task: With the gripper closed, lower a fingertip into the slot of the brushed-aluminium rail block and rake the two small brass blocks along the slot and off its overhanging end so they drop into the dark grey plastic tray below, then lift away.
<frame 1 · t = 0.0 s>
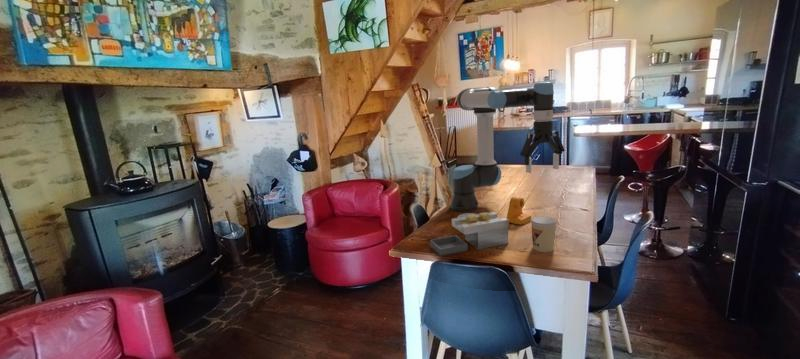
hand: (542, 170, 161), 28 cm above the table, fingers open, 13 cm apart
coffee cup: (543, 248, 150), on the table
rail block: (479, 242, 160), on the table
bowl: (469, 230, 176), on the table
chip b: (484, 221, 159), point 9 cm above the table, touching rail block
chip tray: (448, 248, 156), on the table
bracket: (519, 222, 182), on the table
chip a: (471, 224, 157), point 9 cm above the table, touching rail block
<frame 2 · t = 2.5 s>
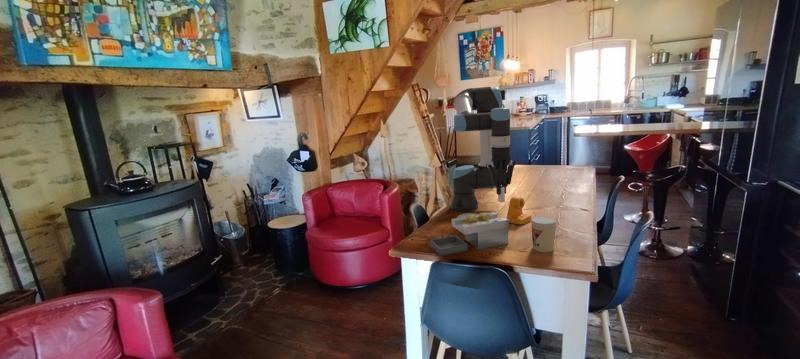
hand: (501, 201, 159), 17 cm above the table, fingers closed
nothing on the table moved.
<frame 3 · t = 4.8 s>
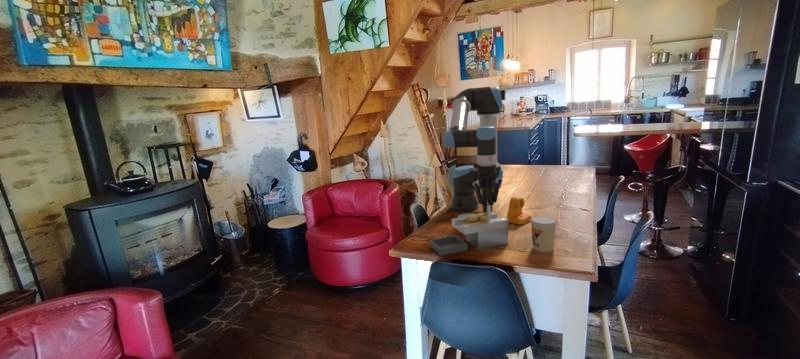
hand: (487, 219, 159), 10 cm above the table, fingers closed
chip b: (482, 222, 158), point 9 cm above the table, touching gripper, rail block
everything else where it was.
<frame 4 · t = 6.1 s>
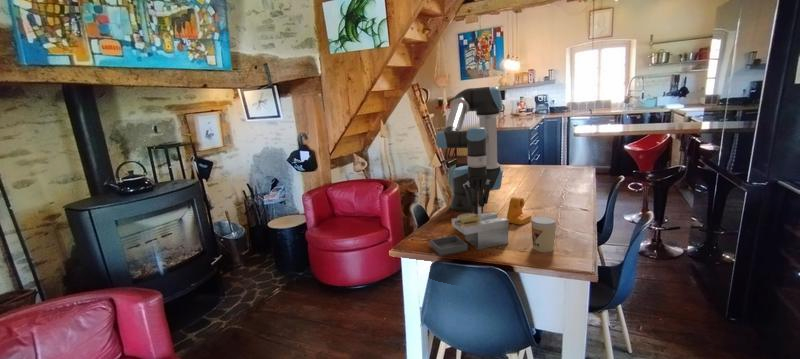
hand: (478, 220, 158), 10 cm above the table, fingers closed
chip b: (473, 223, 157), point 9 cm above the table, touching chip a, gripper
chip a: (465, 225, 156), point 9 cm above the table, touching chip b, rail block
everything else where it was.
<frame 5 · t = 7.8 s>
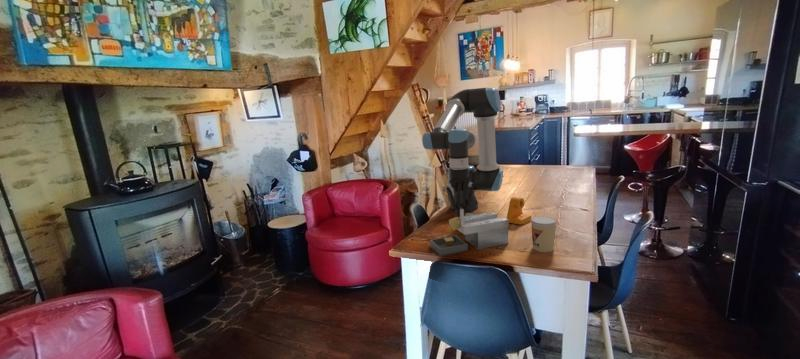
hand: (461, 223, 155), 10 cm above the table, fingers closed
chip b: (456, 227, 155), point 9 cm above the table, tilted 13°, touching gripper, rail block
chip a: (453, 242, 156), point 2 cm above the table, tilted 90°, touching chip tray
everything else where it was.
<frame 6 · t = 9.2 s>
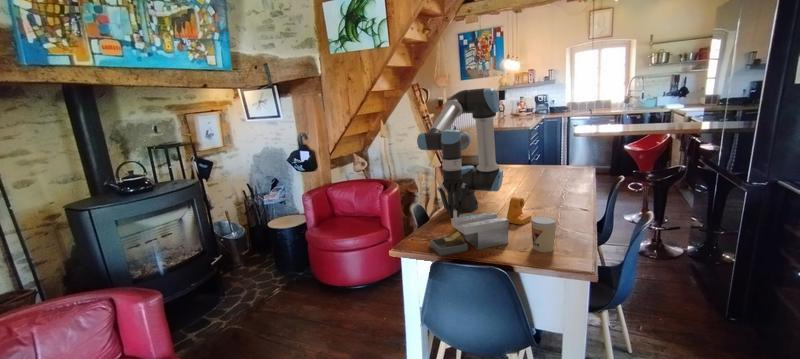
hand: (454, 225, 155), 10 cm above the table, fingers closed
chip b: (460, 241, 156), point 3 cm above the table, tilted 31°, touching chip a, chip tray
chip a: (453, 242, 156), point 2 cm above the table, tilted 90°, touching chip b, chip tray
everything else where it was.
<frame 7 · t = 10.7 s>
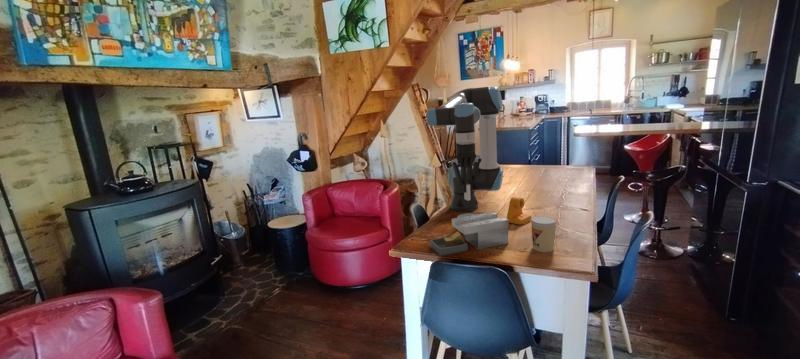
hand: (467, 199, 155), 20 cm above the table, fingers closed
nothing on the table moved.
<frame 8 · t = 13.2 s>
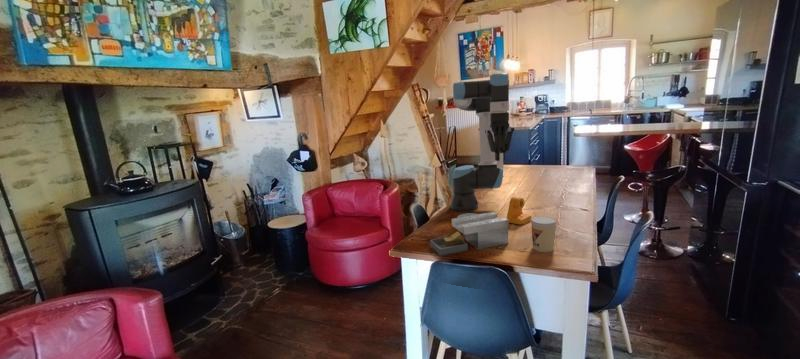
hand: (500, 167, 160), 30 cm above the table, fingers closed
nothing on the table moved.
at the end: chip a inside the target area on the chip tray (2.2 cm from its centre), point 2.3 cm above the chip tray's base; chip b inside the target area on the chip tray (5.1 cm from its centre), point 2.7 cm above the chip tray's base; chip a touching chip b, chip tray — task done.
